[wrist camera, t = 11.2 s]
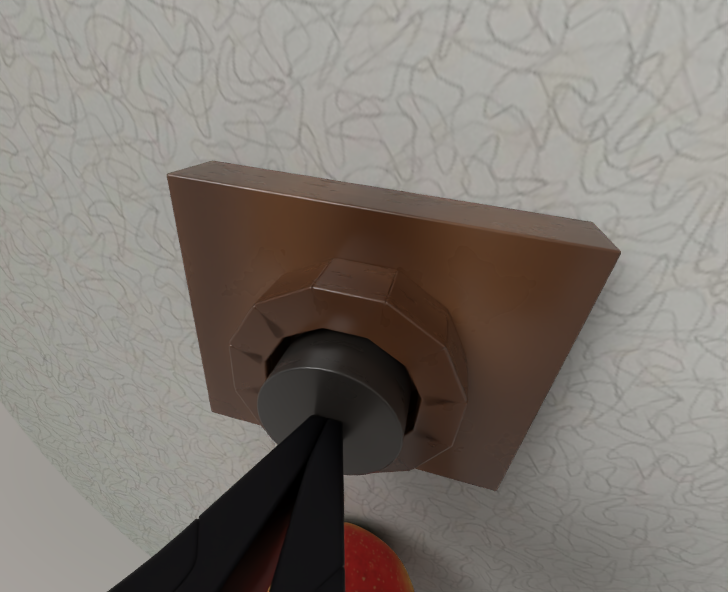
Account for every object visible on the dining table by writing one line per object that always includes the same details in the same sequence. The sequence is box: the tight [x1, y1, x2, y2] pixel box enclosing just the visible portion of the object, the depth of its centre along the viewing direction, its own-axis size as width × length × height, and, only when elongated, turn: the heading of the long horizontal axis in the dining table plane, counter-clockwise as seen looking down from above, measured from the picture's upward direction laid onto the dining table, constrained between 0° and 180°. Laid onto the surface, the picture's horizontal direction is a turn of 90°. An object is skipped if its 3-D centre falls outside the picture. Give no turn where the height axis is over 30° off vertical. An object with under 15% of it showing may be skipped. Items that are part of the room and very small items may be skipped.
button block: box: [167, 161, 621, 491], centre depth 12 cm, size 12×10×4 cm
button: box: [257, 328, 411, 475], centre depth 10 cm, size 4×4×2 cm
